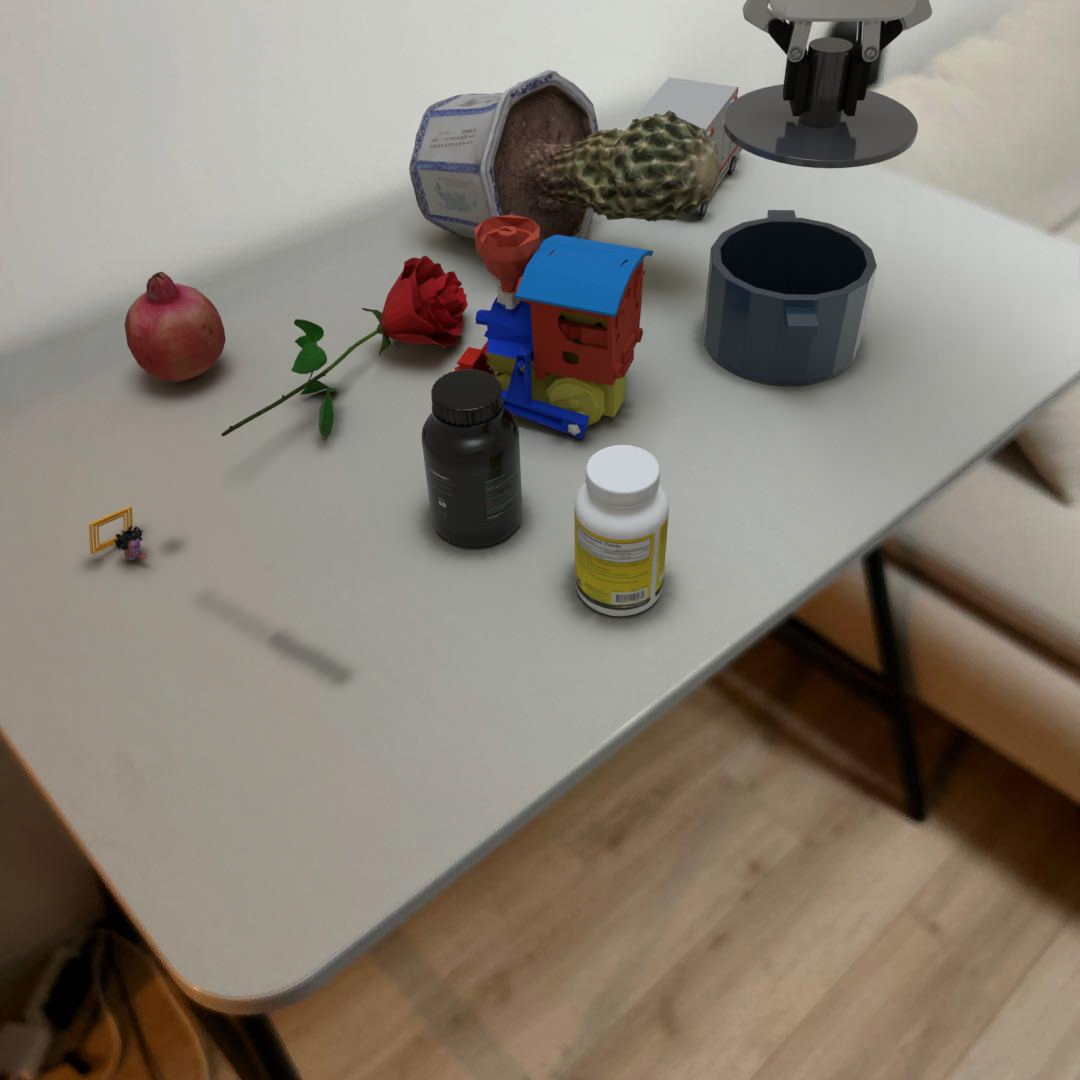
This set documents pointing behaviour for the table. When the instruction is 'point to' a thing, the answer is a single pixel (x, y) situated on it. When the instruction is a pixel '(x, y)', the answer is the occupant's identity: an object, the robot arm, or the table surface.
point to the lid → (821, 118)
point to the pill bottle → (621, 531)
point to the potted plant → (554, 161)
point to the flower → (387, 327)
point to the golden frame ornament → (119, 535)
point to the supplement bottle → (472, 460)
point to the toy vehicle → (698, 116)
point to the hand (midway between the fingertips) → (821, 106)
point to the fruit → (174, 330)
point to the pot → (787, 299)
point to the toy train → (558, 322)
